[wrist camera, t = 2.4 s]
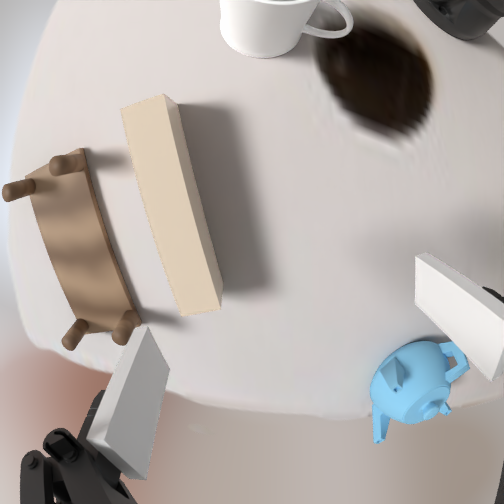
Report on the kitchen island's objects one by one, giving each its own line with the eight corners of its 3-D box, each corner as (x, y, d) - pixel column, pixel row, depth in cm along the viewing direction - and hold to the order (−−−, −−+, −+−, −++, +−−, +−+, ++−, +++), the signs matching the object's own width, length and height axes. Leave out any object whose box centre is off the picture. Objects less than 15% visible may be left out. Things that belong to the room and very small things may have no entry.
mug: (340, 32, 23) (389, -15, 12) (306, 87, 26) (349, 53, 14) (244, -14, 21) (249, -79, 10) (205, 39, 23) (188, -18, 12)
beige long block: (141, 115, 26) (120, 109, 20) (177, 104, 26) (163, 93, 20) (189, 289, 33) (181, 316, 27) (223, 282, 33) (221, 309, 27)
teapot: (429, 386, 42) (454, 424, 32) (358, 410, 42) (377, 457, 32) (448, 321, 37) (486, 360, 27) (368, 346, 37) (398, 399, 27)
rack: (27, 176, 27) (-1, 183, 21) (86, 146, 26) (60, 147, 21) (84, 330, 34) (68, 354, 29) (145, 321, 34) (132, 348, 29)
